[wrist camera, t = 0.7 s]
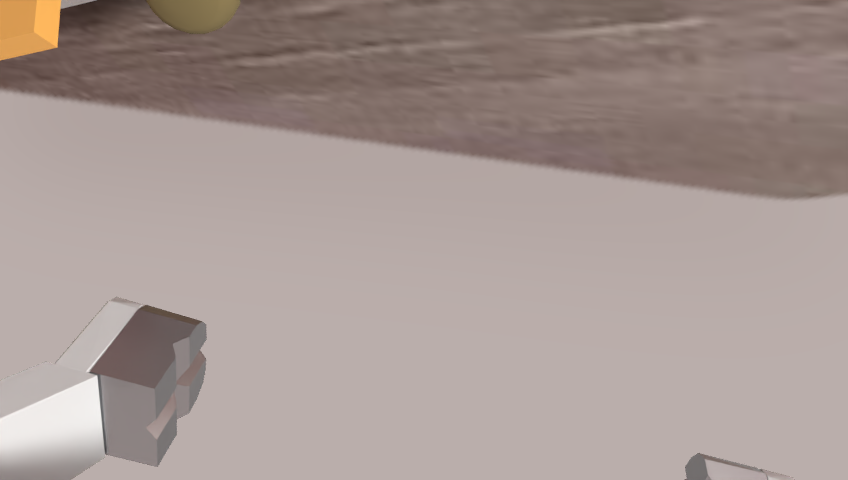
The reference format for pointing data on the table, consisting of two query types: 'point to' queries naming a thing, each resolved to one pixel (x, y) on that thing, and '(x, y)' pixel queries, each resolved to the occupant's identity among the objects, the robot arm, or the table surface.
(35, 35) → the lever
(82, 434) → the robot arm
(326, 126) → the table surface
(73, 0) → the breaker box
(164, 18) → the olive knobbed post
